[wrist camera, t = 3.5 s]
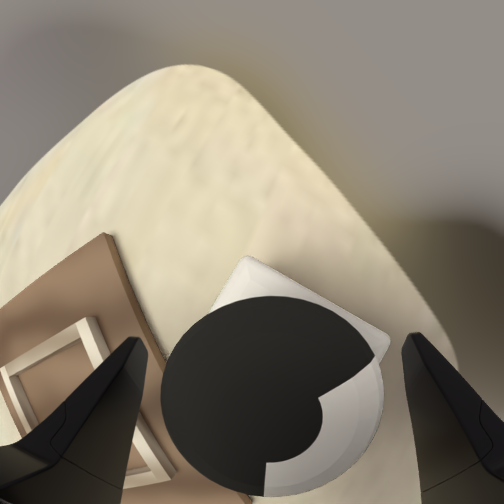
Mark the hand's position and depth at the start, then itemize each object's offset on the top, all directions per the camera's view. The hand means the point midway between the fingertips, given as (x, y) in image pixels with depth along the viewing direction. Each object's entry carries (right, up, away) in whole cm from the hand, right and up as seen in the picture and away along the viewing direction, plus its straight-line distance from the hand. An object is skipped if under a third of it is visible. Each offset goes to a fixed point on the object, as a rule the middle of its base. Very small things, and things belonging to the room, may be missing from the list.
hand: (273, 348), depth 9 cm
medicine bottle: (+1, -3, +9) cm, 10 cm away
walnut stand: (-14, -10, +9) cm, 19 cm away
